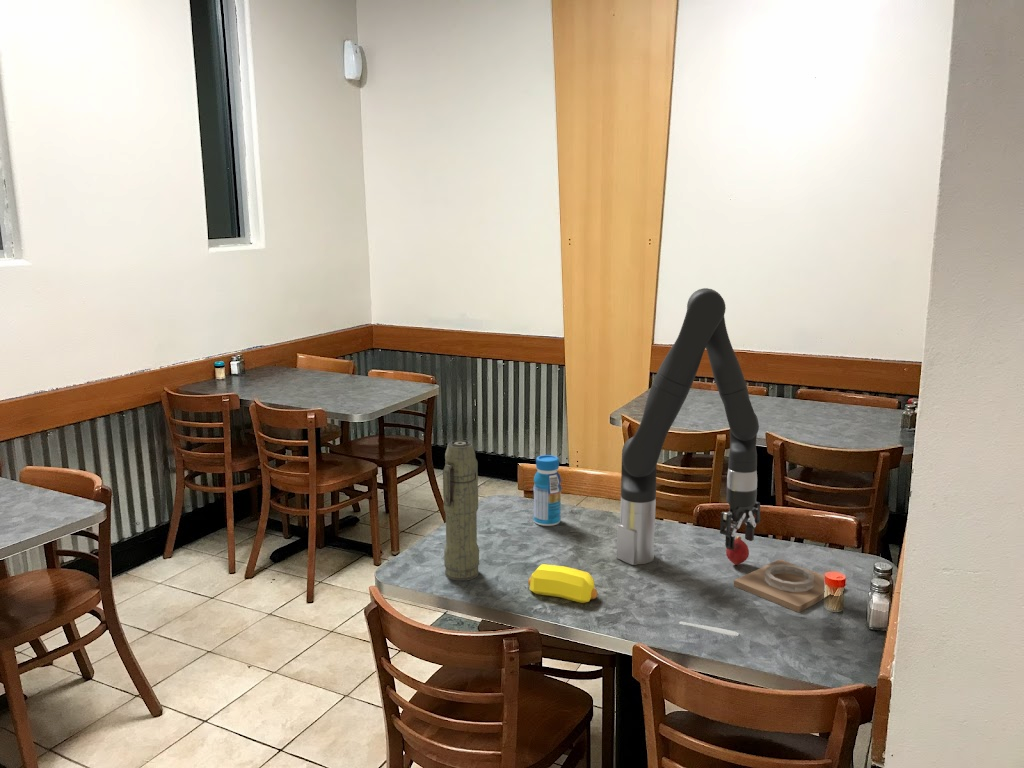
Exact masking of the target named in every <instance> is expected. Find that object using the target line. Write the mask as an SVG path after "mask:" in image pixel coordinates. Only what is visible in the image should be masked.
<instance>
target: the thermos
mask: <svg viewBox="0 0 1024 768" xmlns="http://www.w3.org/2000/svg"><path fill="white" fill-rule="evenodd" d="M444 459H445V461H444V463H445V464H444V467H443V470H442V485H443V486H442V490H443V491H442V492H443V496H442V497H443V511H444V512H445V541H446V542H445V546H444V548H443V549H444V550H443V552H444V553H443V554H444V556H443V559H444V562H443V563H444V568H445V572H444V574H445V577H446V578H447V579H449V580H453V581H459V582H460V581H461V582H462V581H470V580H473V579H475V578H476V577H478V576H479V575H480V574H479V565H480V548H479V545H478V531H477V530H478V527H477V522H478V520H477V519H478V518H477V516H478V514H477V513H478V511H479V483H478V482H479V478H478V477H479V476H478V474H479V473H478V466H479V463H478V459H477V458H476V451H475V449H474V446H473V444H472V442H470V441H468V440H463V439H458V440H457V439H456V440H452V441H451V442H449V443H448V444H447V447H446V450H445V453H444Z"/></svg>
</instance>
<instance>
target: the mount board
mask: <svg viewBox="0 0 1024 768" xmlns="http://www.w3.org/2000/svg"><path fill="white" fill-rule="evenodd" d="M824 575H825V574H821V573H819V572H817V571H813V570H811V569H807V568H805V567H802V566H799V565H797V564H794V563H792V562H788V561H787V560H786V561H785V560H783V559H780V558H779V559H777V560H775V561H773V562H771V563H769V564H766V565H764V566H761V568H758V569H755V570H754V571H751V572H749V573H747V574H744V575H743V576H741V577H738V578H736V579H734V580H733V587H736V588H738V589H739V590H740V589H741V590H743V591H745V592H747V593H750V594H752V595H755V596H756V597H760V598H762V599H764V600H768V601H769V602H771V603H772V602H773V603H774V604H777V605H779V606H781V607H784V608H786V609H788V610H791V611H794V612H797V613H798V614H799V613H801V612H803V611H804V610H806V609H808V608H810V607H812V606H814V605H815V604H817V603H818V602H819V603H820V601H822V599H823V598H824V592H825V591H824ZM824 599H825V598H824ZM824 599H823V600H824Z"/></svg>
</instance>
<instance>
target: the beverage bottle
mask: <svg viewBox="0 0 1024 768" xmlns="http://www.w3.org/2000/svg"><path fill="white" fill-rule="evenodd" d="M535 465H536V466H535V467H536V470H537V471H536V472H535V474H534V478H533V482H534V485H533V488H532V491H533V522H534V523H535V524H536V525H539V526H543V527H552V526H555V525H559V524H560V522H561V510H562V509H561V504H562V503H561V501H562V498H561V497H562V485H561V483H562V477H561V474H560V473H559V471H558V470H559V468H560V458H559V457H558V456H556V455H552V454H551V455H550V454H546V455H545V454H543V455H539V456H536V459H535Z"/></svg>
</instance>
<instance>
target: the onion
mask: <svg viewBox="0 0 1024 768" xmlns="http://www.w3.org/2000/svg"><path fill="white" fill-rule="evenodd" d="M735 537H736V538H735V543H734V549H733V550H730V549H727V548H726V547H725V548H726V549H725V552H726V557H727V559H728V560H729V561H730V562H731V563H732V564H733V565H735V566H739V565H741V564H743V563H744V562H746V561H747V559H748V558H749V555H750V550H749V547H748V545H747V544H746V542H745V541H744V540H742V537H741V535H737V536H735Z"/></svg>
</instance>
